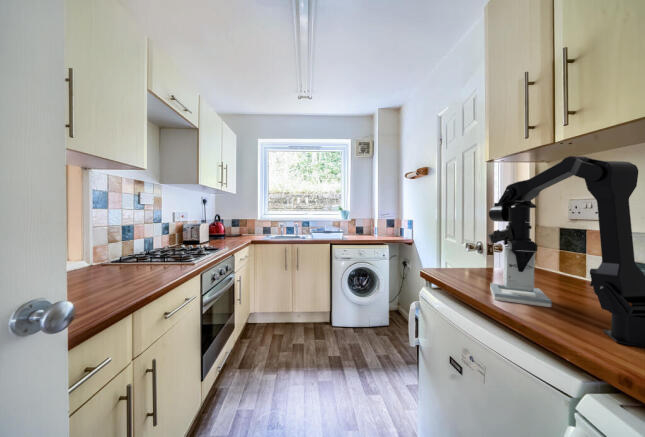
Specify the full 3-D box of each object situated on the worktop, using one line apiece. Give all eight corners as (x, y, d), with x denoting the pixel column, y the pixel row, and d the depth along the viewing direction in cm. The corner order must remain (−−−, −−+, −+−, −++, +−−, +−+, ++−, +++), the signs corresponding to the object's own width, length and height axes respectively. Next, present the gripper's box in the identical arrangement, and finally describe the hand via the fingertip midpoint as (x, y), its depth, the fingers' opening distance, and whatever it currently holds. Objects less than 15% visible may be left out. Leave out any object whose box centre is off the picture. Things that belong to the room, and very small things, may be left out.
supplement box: (505, 287, 84) (506, 249, 84) (502, 282, 91) (503, 246, 91) (534, 291, 81) (535, 250, 81) (529, 285, 87) (530, 247, 87)
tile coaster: (551, 307, 77) (551, 300, 77) (494, 299, 83) (494, 293, 83) (538, 294, 89) (538, 288, 89) (490, 288, 96) (490, 283, 95)
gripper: (487, 221, 98) (486, 262, 98) (492, 222, 81) (492, 272, 81) (524, 221, 92) (523, 265, 93) (538, 223, 76) (537, 276, 76)
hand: (518, 269), depth 86 cm, fingers closed on supplement box, 7 cm apart
